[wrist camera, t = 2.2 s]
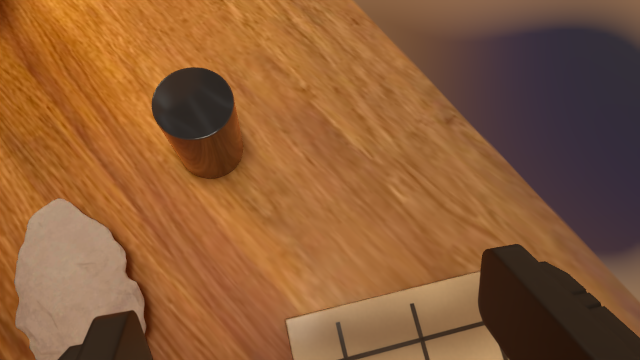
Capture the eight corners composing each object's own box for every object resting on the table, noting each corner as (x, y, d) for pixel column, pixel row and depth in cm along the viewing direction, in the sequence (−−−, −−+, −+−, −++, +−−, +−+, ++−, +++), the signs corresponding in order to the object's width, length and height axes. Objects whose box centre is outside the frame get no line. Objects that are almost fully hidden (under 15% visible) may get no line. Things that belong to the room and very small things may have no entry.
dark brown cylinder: (175, 125, 35) (146, 73, 27) (237, 115, 35) (226, 61, 28) (184, 184, 33) (156, 146, 26) (248, 172, 34) (240, 132, 27)
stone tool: (201, 357, 30) (91, 194, 33) (193, 357, 27) (74, 180, 31) (91, 445, 27) (-15, 259, 31) (70, 455, 24) (-44, 249, 28)
